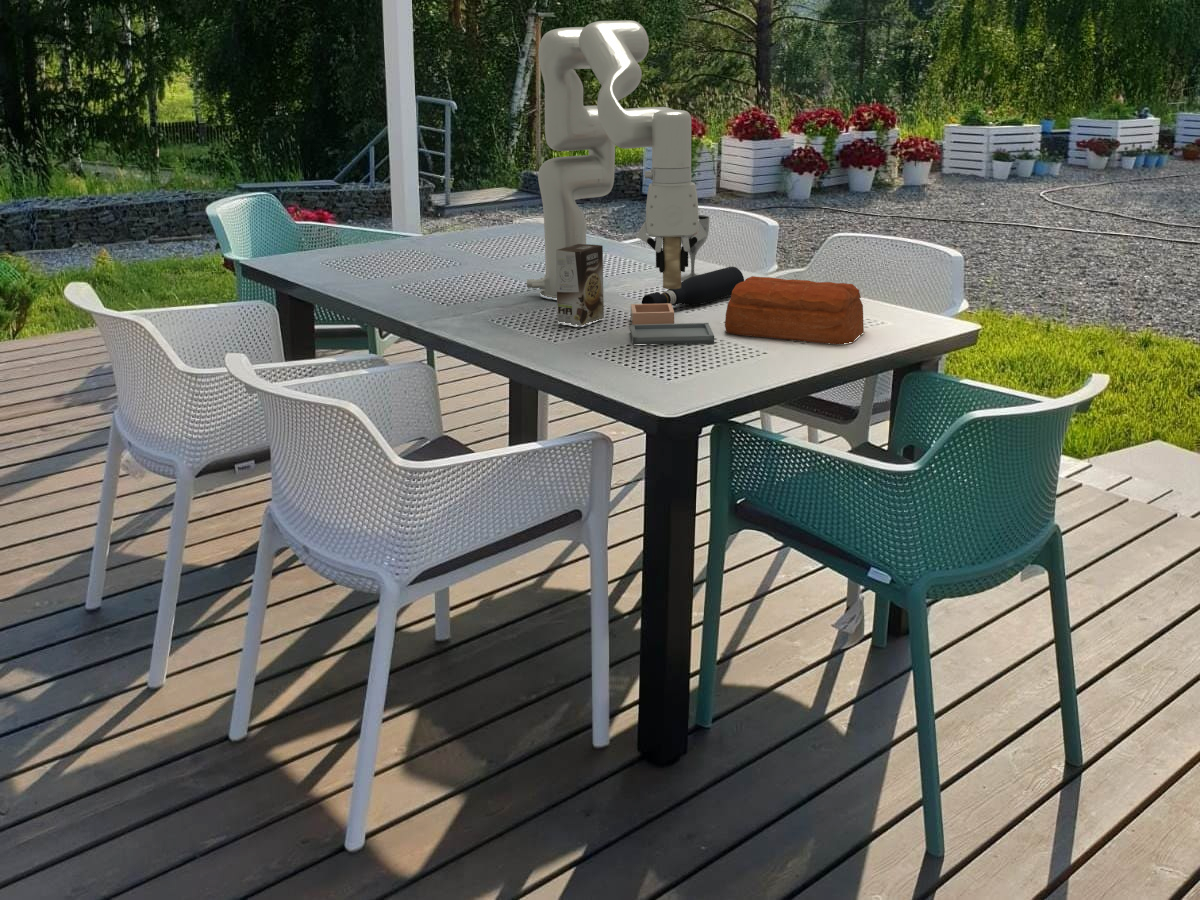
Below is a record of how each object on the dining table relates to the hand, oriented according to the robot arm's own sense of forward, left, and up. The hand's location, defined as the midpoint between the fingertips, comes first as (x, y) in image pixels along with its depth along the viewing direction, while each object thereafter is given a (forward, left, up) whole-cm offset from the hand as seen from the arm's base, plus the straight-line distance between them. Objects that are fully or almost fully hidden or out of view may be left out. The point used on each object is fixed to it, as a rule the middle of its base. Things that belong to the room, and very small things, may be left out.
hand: (672, 270), depth 244 cm
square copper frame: (-3, +13, -14) cm, 19 cm away
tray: (0, 0, -14) cm, 14 cm away
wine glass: (+10, +59, -14) cm, 62 cm away
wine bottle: (+18, +40, -11) cm, 45 cm away
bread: (+25, +2, -14) cm, 29 cm away
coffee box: (-18, +15, -14) cm, 27 cm away
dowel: (0, 0, -3) cm, 3 cm away
